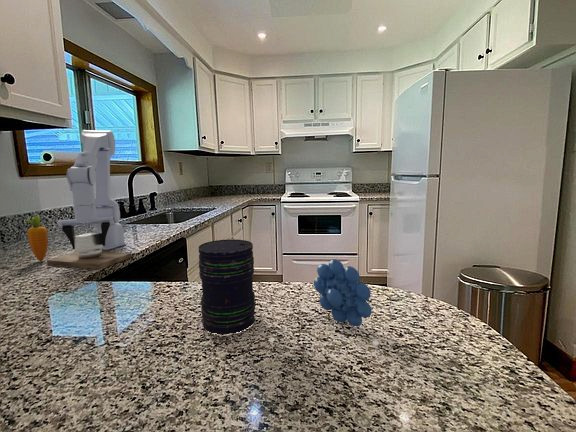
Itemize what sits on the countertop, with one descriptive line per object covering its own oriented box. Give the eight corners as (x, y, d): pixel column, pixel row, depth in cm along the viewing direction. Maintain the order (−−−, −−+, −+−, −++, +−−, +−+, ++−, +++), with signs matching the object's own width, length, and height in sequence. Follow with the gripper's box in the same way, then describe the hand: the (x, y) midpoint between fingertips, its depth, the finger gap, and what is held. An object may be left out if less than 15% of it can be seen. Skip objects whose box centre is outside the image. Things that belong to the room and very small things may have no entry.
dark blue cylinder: (201, 340, 50) (196, 254, 48) (202, 314, 60) (198, 241, 58) (259, 331, 53) (257, 249, 51) (251, 307, 62) (249, 237, 60)
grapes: (301, 323, 56) (301, 260, 54) (320, 309, 61) (321, 252, 59) (360, 344, 49) (362, 273, 47) (376, 326, 54) (378, 262, 52)
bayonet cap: (72, 257, 94) (69, 235, 93) (91, 252, 101) (89, 231, 100) (89, 259, 93) (86, 236, 92) (107, 253, 100) (105, 232, 99)
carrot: (42, 263, 95) (36, 216, 93) (27, 263, 95) (20, 216, 93) (54, 258, 100) (49, 214, 98) (40, 259, 100) (34, 214, 98)
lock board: (85, 253, 106) (84, 249, 106) (131, 257, 101) (131, 252, 101) (47, 264, 94) (46, 259, 93) (98, 269, 88) (97, 263, 88)
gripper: (53, 207, 88) (59, 252, 90) (111, 204, 95) (115, 246, 97) (58, 205, 94) (63, 247, 96) (111, 202, 101) (115, 242, 103)
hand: (89, 246), depth 97 cm, fingers open, 7 cm apart
